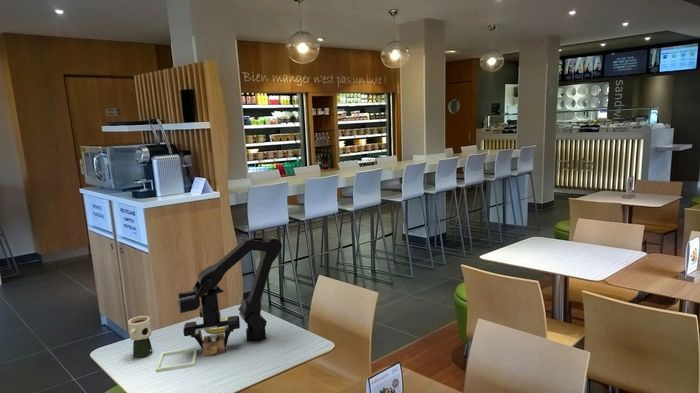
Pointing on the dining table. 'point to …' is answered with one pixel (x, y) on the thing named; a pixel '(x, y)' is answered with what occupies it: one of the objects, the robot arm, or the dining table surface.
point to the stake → (212, 338)
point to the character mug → (140, 335)
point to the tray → (159, 369)
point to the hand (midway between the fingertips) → (214, 348)
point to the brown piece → (213, 345)
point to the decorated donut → (218, 329)
